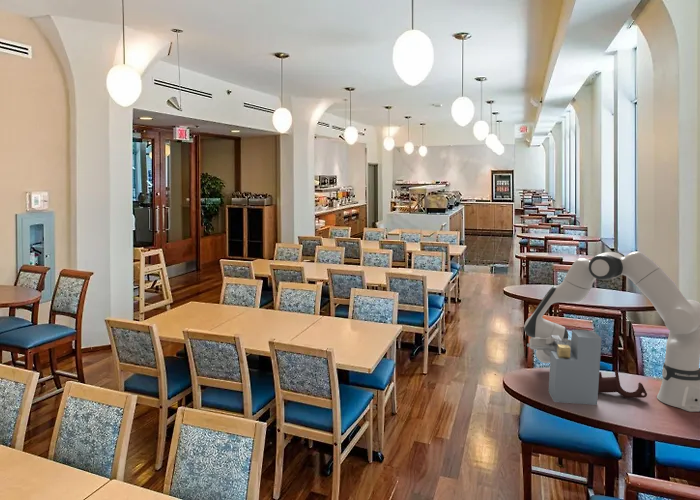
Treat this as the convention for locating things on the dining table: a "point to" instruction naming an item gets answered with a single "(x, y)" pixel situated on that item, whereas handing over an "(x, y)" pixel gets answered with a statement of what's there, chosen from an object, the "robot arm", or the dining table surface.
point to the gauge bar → (561, 347)
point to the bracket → (618, 387)
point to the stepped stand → (577, 370)
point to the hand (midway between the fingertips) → (558, 340)
